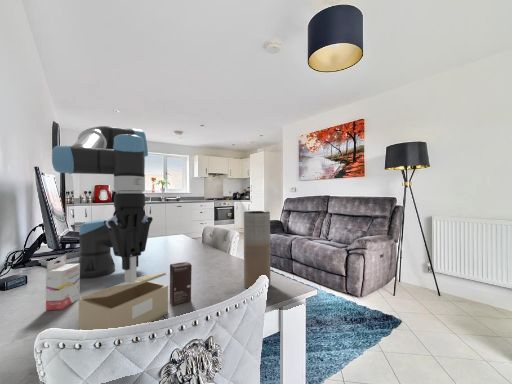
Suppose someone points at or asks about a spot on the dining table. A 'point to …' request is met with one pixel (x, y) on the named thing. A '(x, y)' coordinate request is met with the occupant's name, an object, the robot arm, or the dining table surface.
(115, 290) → the lid
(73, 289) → the ink cartridge box
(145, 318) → the carton
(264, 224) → the burlap textured cylinder
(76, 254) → the desk tidy frame
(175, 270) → the box
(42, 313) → the dining table surface
